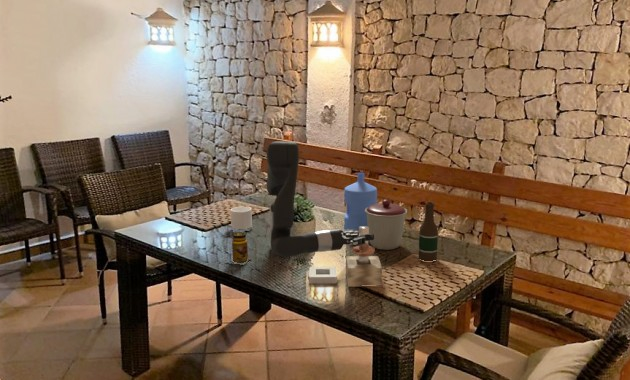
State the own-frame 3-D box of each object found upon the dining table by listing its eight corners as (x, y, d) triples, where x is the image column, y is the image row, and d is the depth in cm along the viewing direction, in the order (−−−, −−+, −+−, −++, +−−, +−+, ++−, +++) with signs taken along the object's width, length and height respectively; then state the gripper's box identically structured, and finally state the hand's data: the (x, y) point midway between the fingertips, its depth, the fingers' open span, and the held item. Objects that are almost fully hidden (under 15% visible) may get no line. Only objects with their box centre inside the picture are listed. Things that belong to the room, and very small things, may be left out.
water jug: (382, 228, 259) (383, 172, 252) (367, 237, 246) (368, 178, 239) (353, 223, 267) (354, 169, 260) (338, 232, 254) (338, 174, 247)
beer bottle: (433, 264, 212) (435, 206, 207) (414, 260, 216) (416, 203, 211) (439, 258, 219) (442, 202, 213) (421, 255, 223) (424, 199, 217)
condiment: (244, 266, 213) (243, 237, 210) (225, 263, 215) (223, 235, 212) (251, 259, 219) (250, 231, 217) (233, 257, 222) (231, 230, 219)
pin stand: (309, 283, 195) (309, 277, 194) (309, 273, 205) (309, 266, 204) (336, 283, 195) (336, 276, 194) (335, 272, 205) (335, 266, 204)
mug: (243, 233, 253) (243, 213, 250) (227, 230, 258) (226, 210, 255) (259, 226, 263) (258, 206, 261) (243, 224, 268) (242, 204, 266)
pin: (353, 271, 193) (353, 230, 189) (351, 263, 200) (352, 224, 197) (375, 271, 193) (376, 230, 189) (373, 263, 200) (373, 224, 197)
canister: (371, 237, 245) (372, 193, 241) (410, 242, 239) (411, 196, 234) (359, 250, 229) (359, 202, 224) (400, 255, 222) (401, 206, 218)
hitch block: (348, 286, 192) (348, 268, 190) (346, 273, 204) (346, 256, 202) (381, 286, 192) (381, 267, 190) (377, 273, 204) (377, 256, 202)
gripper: (334, 236, 182) (380, 230, 188) (320, 224, 195) (363, 220, 200) (334, 256, 183) (379, 250, 189) (320, 244, 196) (362, 239, 202)
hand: (370, 235), depth 195 cm, fingers closed on pin, 3 cm apart
